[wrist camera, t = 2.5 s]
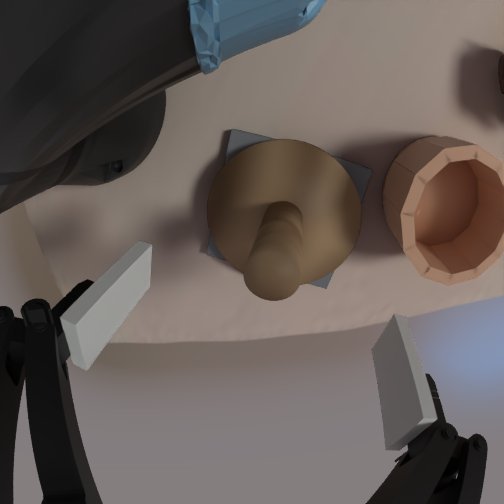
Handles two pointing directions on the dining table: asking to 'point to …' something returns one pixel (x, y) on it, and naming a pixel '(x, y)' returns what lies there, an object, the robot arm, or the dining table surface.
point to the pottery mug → (501, 74)
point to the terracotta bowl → (446, 207)
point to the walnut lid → (283, 215)
